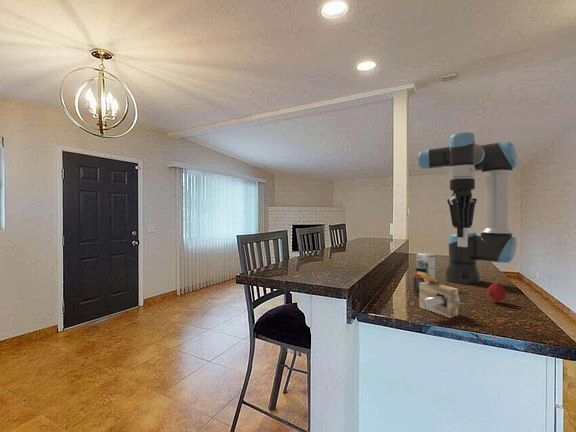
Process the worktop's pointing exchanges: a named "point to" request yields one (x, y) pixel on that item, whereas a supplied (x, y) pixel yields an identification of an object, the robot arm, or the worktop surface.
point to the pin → (436, 301)
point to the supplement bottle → (418, 279)
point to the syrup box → (427, 263)
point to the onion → (496, 292)
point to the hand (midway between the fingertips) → (462, 246)
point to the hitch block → (437, 290)
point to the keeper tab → (427, 277)
